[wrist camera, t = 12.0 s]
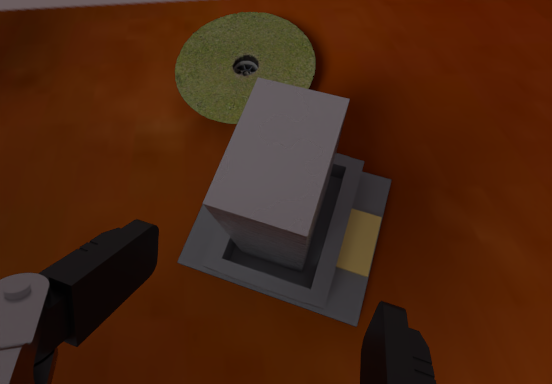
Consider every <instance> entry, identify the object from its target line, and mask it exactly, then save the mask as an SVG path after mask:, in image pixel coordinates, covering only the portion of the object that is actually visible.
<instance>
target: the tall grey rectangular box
mask: <svg viewBox="0 0 552 384" xmlns="http://www.w3.org/2000/svg"><path fill="white" fill-rule="evenodd" d="M349 100H350V99H348V98H343V97H339V96H335V95H331V94H326V93H322V92H318V91H314V90H310V89H305V88H301V87H297V86H293V85H288V84H284V83H280V82H276V81H272V80H267V79H263V78H259V77H258V78H257V80H256V83H255V85H254V87H253V90H252V92H251V94H250V96H249V99H248V101H247V103H246V106H245V108H244V110H243V112H242V115H241V117H240V119H239V122H238V124H237V126H236V128H235V131H234V133H233V135H232V138H231V140H230V142H229V144H228V147H227V149H226V151H225V153H224V156H223V158H222V160H221V163H220V165H219V167H218V169H217V172H216V174H215V176H214V179H213V181H212V183H211V185H210V188H209V190H208V192H207V195H206V197H205V199H204V201H203V205H204V206H205V207H206V208H207V210H208V211H209V212H210V213H211V214H212V216H213V217H214V218H215V219H216V221H217V222H218V223H219V224H220V225H221V227H222V228H223V229H224V230H225V232H226V233H227V234H228V235H229V236H230V238H231V239H232V240H233V241H234V242H235V244H236V245H237V246H238V247H239V249H240V250H241V251H242V252H243V253H244V254H247V255H250V256H253V257H256V258H259V259H262V260H265V261H268V262H271V263H274V264H277V265H280V266H283V267H286V268H289V269H292V270H295V271H298V272H301V273H302V270H303V267H304V263H305V260H306V257H307V254H308V250H309V247H310V244H311V240H312V237H313V234H314V230H315V227H316V224H317V221H318V217H319V214H320V211H321V207H322V204H323V201H324V197H325V194H326V191H327V187H328V183H329V179H330V175H331V171H332V167H333V163H334V160H335V156H336V152H337V148H338V144H339V140H340V136H341V132H342V128H343V124H344V120H345V116H346V112H347V108H348V104H349Z"/></svg>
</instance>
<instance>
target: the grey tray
mask: <svg viewBox="0 0 552 384" xmlns="http://www.w3.org/2000/svg"><path fill="white" fill-rule="evenodd" d="M363 165H364V161H362V160H358V159H354V158H351V157H350V156H346V155H342V154H338V153H336V156H335V160H334V163H333V167H332V171H331V175H330V179H329V183H328V187H327V191H326V194H325V197H324V201H323V204H322V207H321V211H320V214H319V217H318V221H317V224H316V227H315V230H314V234H313V237H312V240H311V244H310V247H309V250H308V254H307V257H306V260H305V263H304V267H303V270H302V273H301V272H298V271H295V270H292V269H289V268H286V267H283V266H280V265H277V264H274V263H271V262H268V261H265V260H262V259H259V258H256V257H253V256H250V255H247V254H244V253H243V252H242V251H241V250H240V249H239V247H238V246H237V245H236V244H235V242H234V241H233V240H232V239H231V238H230V236H229V235H228V234H227V233H226V232H225V230H224V229H223V228H222V227H221V225H220V224H219V223H218V222H217V221H216V219H215V218H214V217H213V216H212V214H211V213H210V212H209V211H208V210H207V208H206V207H205V206H204V205H202V207H201V209H200V212H199V214H198V216H197V219H196V221H195V223H194V225H193V228H192V230H191V232H190V234H189V237H188V239H187V241H186V243H185V246H184V248H183V250H182V253H181V255H180V257H179V259H178V263H180V264H182V265H185V266H188V267H191V268H193V269H196V270H199V271H202V272H205V273H207V274H210V275H213V276H216V277H219V278H221V279H224V280H227V281H230V282H233V283H235V284H238V285H241V286H244V287H246V288H249V289H252V290H255V291H258V292H260V293H263V294H266V295H269V296H272V297H274V298H277V299H280V300H283V301H286V302H288V303H291V304H294V305H297V306H300V307H302V308H305V309H308V310H311V311H314V312H316V313H319V314H322V315H325V316H328V317H330V318H333V319H336V320H339V321H342V322H344V323H347V324H350V325H353V326H356V327H357V324H358V320H359V316H360V311H361V307H362V303H363V299H364V294H365V290H366V286H367V282H368V277H369V273H370V269H371V265H372V260H373V256H374V252H375V248H376V243H377V239H378V235H379V231H380V227H381V222H382V218H383V214H384V210H385V205H386V201H387V197H388V193H389V188H390V184H391V179H387V178H384V177H380V176H376V175H373V174H369V173H365V172H362V169H363Z"/></svg>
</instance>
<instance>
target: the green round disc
mask: <svg viewBox="0 0 552 384" xmlns="http://www.w3.org/2000/svg"><path fill="white" fill-rule="evenodd" d="M315 61H316V60H315V53H314V50H313V47H312V45H311V43H310V41H309V39H308V38H307V36H305V35H304V33H303V32H302V31H301V30H300V29H299V28H298V27H297V26H296V25H294V24H292V23H291V22H289V21H288V20H285V19H283V18H281V17H278V16H275V15H273V14H267V13H258V12H252V13H251V12H247V13H244V12H241V13H238V14H230V15H226V16H225V17H221V18H219V19H216V20H214V21H212V22H210V23H207V24H206V25H204V26H203V27H201V28H200V29H199V30H198V31H196V32H195V33H193V35H192V36H191V37H190V38H189V39H188V40H187V42H185V44H184V46H183V48H182V49H181V52H180V55H179V56H178V58H177V63H176V68H175V79H176V82H177V83H176V84H177V88H178V90H179V93H181V96H182V97H183V99H184V100H185V101H186V102H187V103H188V105H190V107H192V109H194V110H195V111H197V112H198V113H199V114H201V115H202V116H205V117H206V118H209V119H212V120H215V121H218V122H223V123H229V124H238V122H239V119H240V117H241V115H242V112H243V110H244V108H245V106H246V103H247V101H248V99H249V96H250V94H251V92H252V90H253V87H254V85H255V83H256V80H257V78H258V77H259V78H263V79H267V80H272V81H276V82H280V83H284V84H288V85H293V86H297V87H301V88H305V89H308V88H309V87H310V85H311V82H312V80H313V76H314V74H315V65H316V62H315Z"/></svg>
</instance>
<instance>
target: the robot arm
mask: <svg viewBox="0 0 552 384" xmlns="http://www.w3.org/2000/svg"><path fill="white" fill-rule="evenodd" d="M158 236H159V229H158V227H157V226H156V225H153V224H150V223H147V222H144V221H141V220H138V219H137V220H134V221H132V222H131V223H129V224H128V225H126V226H125V227H123V228H122V229H120V228H116V229H113V230H110V231H107V232H104V233H102V234H100V235H99V236H97V237H95V238H94V239H92V240H91V241H90V242H89V243H88V242H87V243H86V244H84V245H83V246H81V247H80V248H79V250H78V249H76V250H75V251H73V252H72V253H70V254H69V255H67V256H65V257H64V258H62V259H61V260H59V261H57V262H56V263H54V264H53V265H51V266H50V267H48V268H46V269H45V270H43V271H42V272H40V273H39V274H36V273H21V274H15V275H12V276H8V277H6V278H3V279H1V280H0V384H51V383H52V379H53V374H54V370H55V365H56V361H57V356H58V349H57V346H58V345H60V344H61V343H62V342H63V341H64V342H66V343H69V344H71V345H73V346H76V347H78V346H79V345H80V344H81V343H82V342H83V341H84V340H85V339H86V338H87V337H88V336H89V335H90V334H91V333H92V332H93V331H94V330H95V329H96V328H97V327H98V326H99V325H100V324H101V323H102V322H103V321H104V320H106V319H107V318H108V317H109V316H110V315H111V314H112V313H113V312H114V311H115V310H116V309H117V308H118V307H119V306H120V305H121V304H122V303H123V302H124V301H125V300H126V299H127V298H128V297H129V296H130V295H131V294H132V293H133V292H134V291H135V290H137V289H138V288H139V287H140V286H141V285H142V284H143V283H144V282H145V281H146V280H147V279H148V278H149V277H150V276H151V274H152V273H153V271H154V269H155V267H156V264H157V256H158ZM431 365H432V361H431V356H430V351H429V347H428V345H427V344H426V342H425V340H424V339H423V337H422V335H421V334H420V332H419V331H417V330H414V329H411V328H408V321H407V314H406V310H405V309H404V308H401V307H398V306H395V305H392V304H389V303H386V302H383V301H381V302H380V303H379V304H378V306H377V309H376V311H375V313H374V315H373V318H372V320H371V322H370V325H369V327H368V329H367V331H366V334H365V336H364V340H363V344H362V349H361V368H360V384H436V380H434V377H435V376H434V371H433V366H431Z"/></svg>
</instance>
